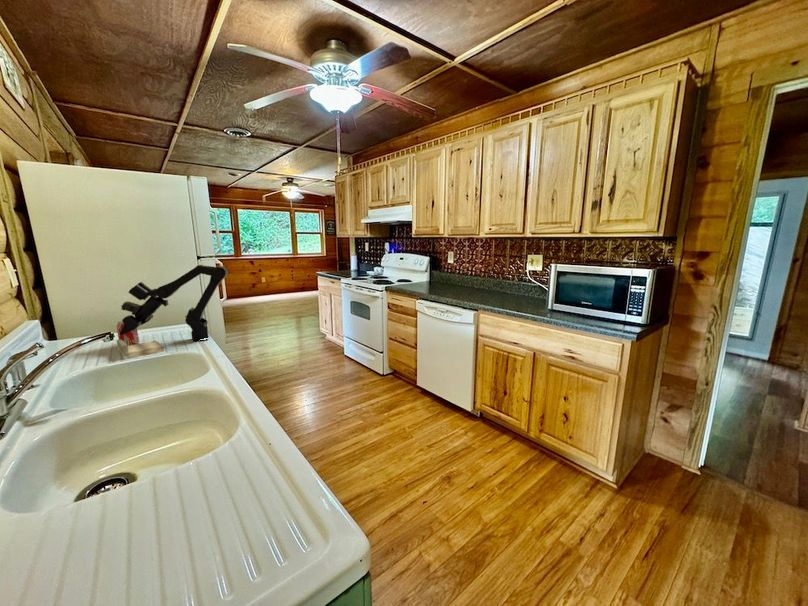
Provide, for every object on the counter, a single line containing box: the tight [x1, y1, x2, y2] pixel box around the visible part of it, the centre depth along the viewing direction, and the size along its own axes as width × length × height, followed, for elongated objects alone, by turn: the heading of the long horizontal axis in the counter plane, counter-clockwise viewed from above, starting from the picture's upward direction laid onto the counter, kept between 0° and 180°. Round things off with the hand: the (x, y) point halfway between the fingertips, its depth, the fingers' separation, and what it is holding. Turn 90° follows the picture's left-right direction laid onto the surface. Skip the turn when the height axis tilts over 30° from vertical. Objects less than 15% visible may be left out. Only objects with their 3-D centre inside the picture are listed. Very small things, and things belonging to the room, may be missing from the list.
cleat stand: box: [116, 339, 164, 360], centre depth 145 cm, size 14×12×6 cm
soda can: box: [116, 320, 140, 346], centre depth 153 cm, size 7×7×12 cm
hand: (125, 331), depth 152 cm, fingers open, 9 cm apart
